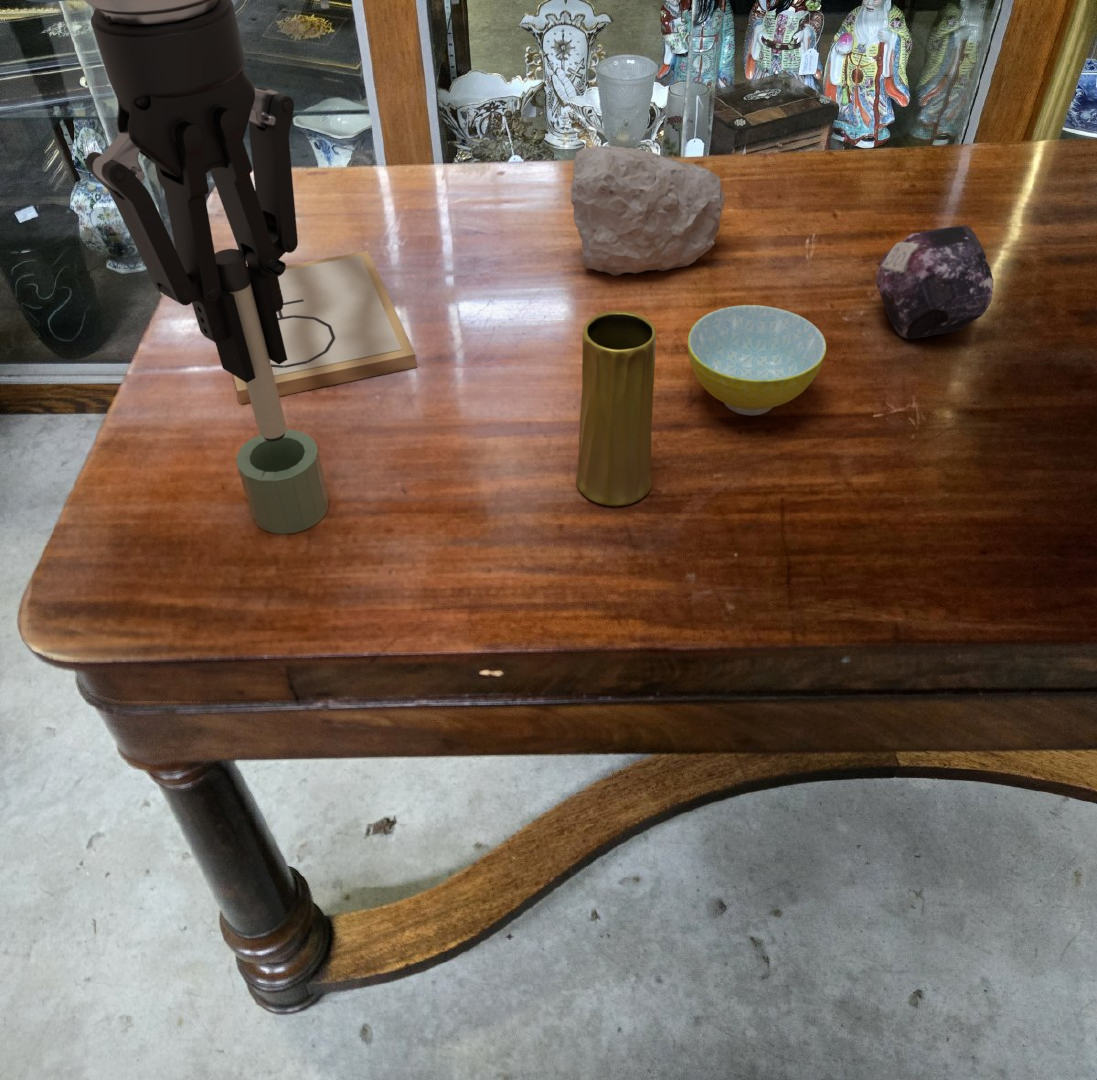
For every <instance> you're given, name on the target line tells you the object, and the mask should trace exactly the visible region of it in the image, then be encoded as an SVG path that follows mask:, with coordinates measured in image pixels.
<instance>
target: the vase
mask: <svg viewBox="0 0 1097 1080" xmlns="http://www.w3.org/2000/svg"><path fill="white" fill-rule="evenodd" d="M581 337H582V343H581V344H582V358H581V359H582V360H581V361H582V362H581V363H582V364H581V399H580V413H579V431H578V433H579V434H578V460H577V461H578V462H577V463H578V466H577V471H576V476H575V484H576V486H577V488H578V490H579V491H580V493H581V494H582V495H583V496H584V497H585V498H587V499H588V500H589V501H591V502H593V503H595V504H598V505H602V506H606V507H607V506H608V507H623V506H624V507H625V506H629V505H632V504H634V503H637V502H639V501H641V499H643V498H645V496H647V495H648V493H649V492H650V490H651V489H652V485H653V476H652V425H653V407H654V406H653V404H654V386H655V384H654V383H655V367H656V366H655V365H656V342H657V341H656V340H657V329H656V327H655V325H654V323H653V322H652V321H651V320H649V319H648V318H646V317H645V316H643V315H641V314H639V313H636V312H633V311H626V310H609V311H605V312H602V313H598V314H596V315H594V316H592V317H591V318H590V319H588V320H587V321H586V323H585V324H584V326H583V329H582V336H581Z"/></svg>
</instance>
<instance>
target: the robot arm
mask: <svg viewBox="0 0 1097 1080" xmlns="http://www.w3.org/2000/svg"><path fill="white" fill-rule="evenodd" d="M64 1H66V0H27V2H34V3H56V2H64ZM83 1H84V2H85V3H86V4H88V5H89V6H90V7H92V8H93V9H94V11H93V12H92V16H91V18H90V24H91V27H92V30H93V34H94V37H95V40H96V44H97V47H98V50H99V53H100V56H101V61H102V63H103V66H104V69H105V73H106V76H107V79H108V81H109V83H110V86H111V87H112V90H113V92H114V94H115V97H116V101H117V116H116V128H117V131H118V135H117V136H116V138H115V139H114V140H113V141H112V142H111V143H110V144H109V145H108V147H107V148H106V149H105V151H104V152H103V153H101V152H98V151H93V152H90V153H89V154H88V155H87V156H86V157H85V162H84V166H85V168H86V170H87V171H88V172H89V173H90V174H91V175H92V176H93V177H94V178H95V179H96V180H97V181H98V182H99V183H100V184H101V185H102V186H103V187H104V188H105V189H106V190H107V191H108V192H109V194H110V196H111V199H112V201H113V202H114V204H115V207H116V208H117V211H118V212H119V214H120V217H121V219H122V221H123V224H124V225H125V227H126V229H127V231H128V233H129V235H130V237H131V240H132V241H133V244H134V246H135V247H136V250H137V252H138V254H139V255H140V258H141V260H142V262H143V264H144V266H145V268H146V270H147V272H148V275H149V276H150V279H151V280H152V282H153V285H154V287H155V289H156V291H158V292H159V293H161V294H163V295H164V296H166V297H168V298H169V299H171V300H173V301H174V302H177V303H178V304H180V305H182V306H189V305H191V304H192V309H193V311H194V314H195V318H196V321H197V324H198V328H199V331H200V333H201V334H202V335H203V336H204V337H205V338H207V339H208V340H210V341H212V342H213V343H215V347H216V349H217V350H216V351H217V354H218V357H219V361H220V363H221V368H222V369H223V370H225V371H226V372H227V373H230V374H231V375H232V376H233V375H234V376H236V377H238V378H239V379H241V380H243V381H244V382H246V383H248V382H250V381H251V380H253V379H255V378H256V377H255V373H254V370H253V366H252V362H251V358H250V355H249V351H248V347H247V343H246V339H245V336H244V332H243V328H242V324H241V321H240V317H239V313H238V309H237V305H236V302H235V298H234V295H233V294H231V293H229V292H228V291H226V290H224V289H221V288H220V282H219V276H218V270H217V264H216V258H215V253H216V252H215V247H214V241H213V240H214V239H213V234H212V227H211V222H210V216H209V211H208V205H207V199H206V196H208V194H209V191H210V190H209V182H208V177H207V174H208V173H209V172H210V174H211V177H212V180H213V182H214V185H215V188H216V191H217V194H218V196H219V200H220V202H221V204H222V207H223V210H224V213H225V216H226V218H227V221H228V224H229V227H230V229H231V232H232V235H233V237H234V240H235V243H236V247H237V248H238V249H237V250H240V251H242V252H243V253H244V256H245V260H246V264H247V268H248V272H249V276H250V280H251V282H250V283H251V287H252V291H253V295H254V299H255V303H256V307H257V311H258V315H259V319H260V323H261V327H262V331H263V335H264V339H265V343H266V347H267V351H268V355H269V359H270V360H272V361H274V362H275V363H277V364H281V363H283V362H285V361H286V360H287V355H286V351H285V347H284V343H283V338H282V334H281V330H280V326H279V322H278V317H277V313H276V312H278V311H280V310H281V309H283V297H282V294H281V289H280V284H279V280H278V276H281V275H282V274H283V273H284V271H285V268H286V266H287V265H286V262H284V261H282V260H280V259H281V258H282V257H283V255H285V254H286V253H288V254H291V253H293V252H295V251H296V250H297V248H298V245H299V239H298V228H297V217H296V206H295V205H296V204H295V192H294V182H293V181H294V180H293V170H292V159H291V157H292V156H291V147H290V146H291V145H290V133H291V127H292V120H293V116H294V110H295V103H294V100H293V99H292V97H291V96H288V95H286V94H284V93H282V92H278V91H276V90H274V89H271V88H268V87H265V86H259V87H256V88H255V86H254V84H253V82H252V81H251V79H250V78H249V77H248V76H247V74H246V72H245V70H244V67H245V62H246V57H245V52H244V47H243V43H242V37H241V33H240V29H239V24H238V19H237V16H236V10H235V5H234V2H233V1H232V0H83ZM248 124H249V125H248ZM247 128H248V133H249V134H248V135H249V145H250V154H251V160H250V157H249V153H248V151H247V148H246V145H245V142H244V138H245V135H246V134H245V133H246V131H247ZM139 154H141V155H143V156H144V157H145V158H146V159H147V160H148V161H150V162H151V163H152V164H154V167H155V172H156V177H157V181H158V183H159V185H160V186H161V187H162V190H163V192H164V195H165V201H166V207H167V212H168V216H169V223H170V229H171V232H172V238H173V240H172V238H171V236H170V234H169V231H168V230H167V228H166V225H165V223H164V221H163V219H162V216H161V214H160V212H159V210H158V208H157V205H156V203H155V201H154V199H153V196H152V195H151V193H150V192H149V190H148V188H147V187H146V186H145V185H144V184H143V183H142V182H143V181H144V179H145V177H146V176H145V172H144V171H143V167H142V165H141V164H140V162H139V156H140V155H139ZM251 162H252V163H251ZM252 172H253V173H252ZM251 173H252V174H253V179H252V177H251ZM253 181H254V182H253ZM234 376H233V377H234Z"/></svg>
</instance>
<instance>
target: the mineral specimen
mask: <svg viewBox="0 0 1097 1080" xmlns="http://www.w3.org/2000/svg"><path fill="white" fill-rule="evenodd" d="M875 282H876V286H877V289H878V293H879V295H880V298H881V300H882V303H883V306H884V308H885V311H886V314H887V317H888V319H889V321H890V323H891V325H892V327H893V329H894V330H895V332H896V333H897V334H898V335H899V336H900V337H902V338H903V339H918V338H925V337H926V338H927V337H930V336H935V335H941V334H942V335H943V334H947V333H953V332H957V331H960V330H962V329H963V328H965V327H966V326H968V325H970V324H972V323H973V322H974V321H977V320H978V319H979V318H981V317H983V316H984V314H985V313H986V312H987V310H988V308H989V306H990V305H991V303H992V300H993V294H994V293H993V290H994V282H995V280H994V277H993V274H992V269H991V267H990V265H989V263H988V260H987V255H986V252H985V250H984V248H983V246H982V244H981V243H980V239H979V238H978V237H977V235H976V233H975V232H974V231H973V229H972V228H971V227H969V226H968V225H967V224H965V225H956V226H949V227H943V228H936V229H930V230H925V231H920V232H913V233H911V234H908V236H907V237H906V238H904V239H903V240H902V241H899V242H896V243H895V244H894V245H893V247H892V248H891V249H890V250H889V251H887V252H886V253H884V254H883V256H881V260H880V261H879V264H878V267H877V272H876V279H875Z"/></svg>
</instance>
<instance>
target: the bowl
mask: <svg viewBox="0 0 1097 1080" xmlns="http://www.w3.org/2000/svg"><path fill="white" fill-rule="evenodd" d="M687 353H688V358H689V363H690V366H691V369H692V371H693V374H694V376H695V377H696V379H697V380H698V382H699V384H700V385H701V386H702V388H703V389H704V390H705V391H707V392H708V394H710V395H711V396H712V397H713V398H715V399H717V400H718V401H720V402H722V403H724V405H725V407H727V409H728V410H730V411H732V412H734V413H736V414H740V415H744V416H759V415H763V414H766V413H768V412H769V411H771V410H772V409H773V408H775V407H779V406H782V405H785V404H787V403H788V402H790V401H792V400H794V399H796V398H797V397H798V396H799V395H801V394H803V392H805V390H806V389H808V387H809V386H810V385H811V384H812V382H813V381H814V380H815V378H816V376H817V375H818V373H819V372H820V370H821V367H822V365H823V362H824V359H825V356H826V353H827V342H826V339H825V337H824V335H823V333H822V332H821V330H820V329H819V328H818V327H817V326H816V325H815V324H813V323H812V322H811V321H809V320H808V319H807V318H804V317H803V316H802V315H799V314H797V313H794V312H792V311H789V310H784V309H781V308H778V307H774V306H767V305H757V304H752V305H751V304H743V305H733V306H728V307H723V308H719V309H716V310H713V311H711V312H709V313H707V314H704V315H703V316H701V317H700V318H699V319H698V320H697V321H696V322H695V323H694V324H693V325H692V327H691V328H690V330H689V333H688V337H687Z"/></svg>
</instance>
